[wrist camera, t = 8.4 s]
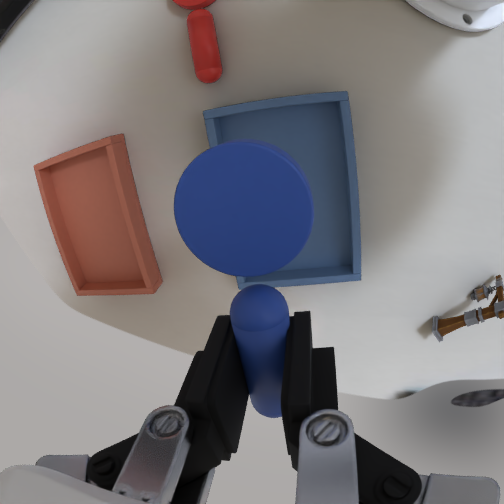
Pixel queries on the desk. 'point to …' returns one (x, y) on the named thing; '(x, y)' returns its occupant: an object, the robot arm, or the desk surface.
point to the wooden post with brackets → (473, 311)
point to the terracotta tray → (98, 219)
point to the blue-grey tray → (317, 172)
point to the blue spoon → (249, 244)
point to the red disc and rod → (203, 40)
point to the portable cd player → (11, 13)
